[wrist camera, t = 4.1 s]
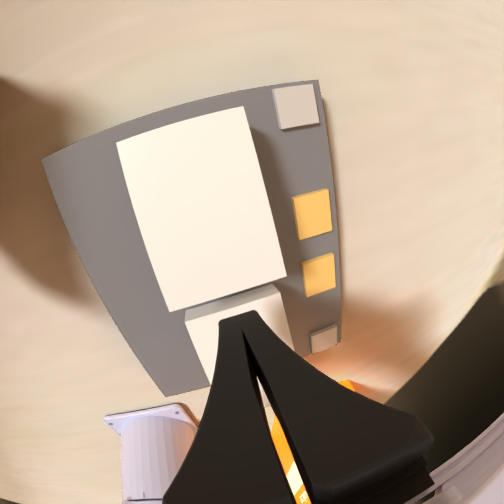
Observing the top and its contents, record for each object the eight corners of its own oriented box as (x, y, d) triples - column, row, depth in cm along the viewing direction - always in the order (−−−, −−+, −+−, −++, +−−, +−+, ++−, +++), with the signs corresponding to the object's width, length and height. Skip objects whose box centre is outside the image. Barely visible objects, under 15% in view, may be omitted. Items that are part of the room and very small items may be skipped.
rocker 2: (296, 379, 18) (304, 393, 16) (223, 402, 17) (226, 418, 16) (272, 283, 16) (279, 292, 15) (185, 310, 16) (184, 321, 14)
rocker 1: (276, 265, 14) (286, 276, 12) (172, 297, 13) (169, 312, 11) (237, 115, 12) (243, 105, 10) (125, 147, 11) (116, 142, 10)
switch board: (332, 328, 23) (348, 351, 20) (164, 381, 21) (166, 409, 18) (305, 81, 14) (329, 77, 11) (52, 154, 12) (30, 163, 10)
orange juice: (349, 378, 27) (442, 532, 10) (328, 421, 31) (395, 549, 14) (277, 396, 25) (358, 581, 8) (268, 436, 29) (325, 581, 12)
